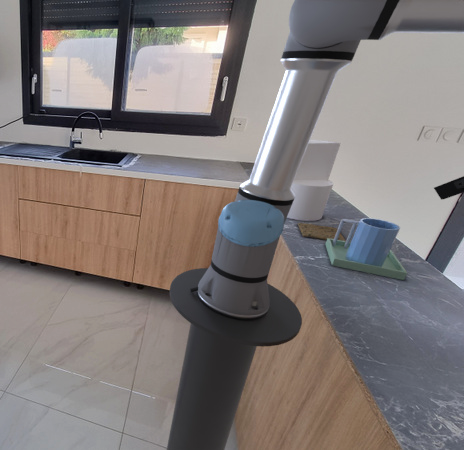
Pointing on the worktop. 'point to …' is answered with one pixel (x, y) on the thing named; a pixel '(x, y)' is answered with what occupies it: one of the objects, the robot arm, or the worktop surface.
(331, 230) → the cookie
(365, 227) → the tumbler
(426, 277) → the worktop surface
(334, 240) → the dish rack
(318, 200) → the white rounded block
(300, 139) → the robot arm
